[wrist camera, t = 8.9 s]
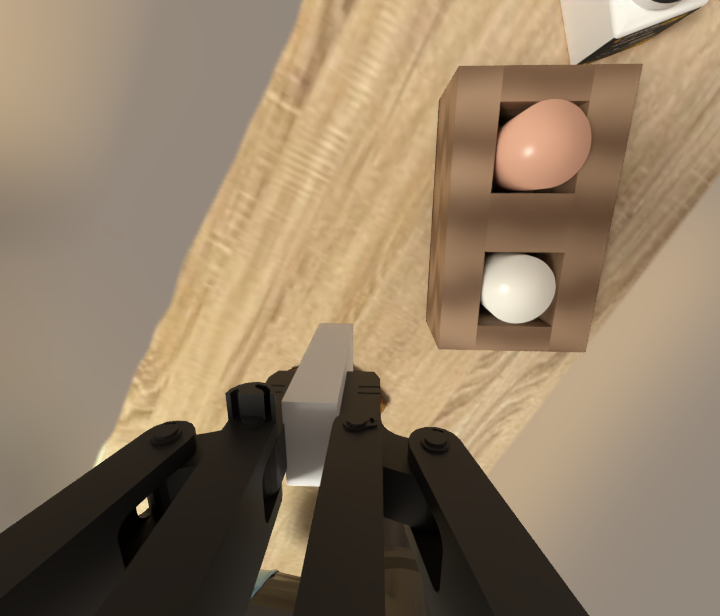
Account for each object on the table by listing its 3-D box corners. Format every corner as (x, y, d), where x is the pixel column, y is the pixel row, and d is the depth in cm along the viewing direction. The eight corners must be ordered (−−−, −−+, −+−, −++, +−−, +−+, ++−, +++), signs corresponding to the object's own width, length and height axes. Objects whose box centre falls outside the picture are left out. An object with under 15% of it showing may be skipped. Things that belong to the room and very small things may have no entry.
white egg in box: (516, 301, 41) (549, 324, 33) (461, 301, 41) (480, 322, 33) (524, 246, 39) (560, 256, 31) (466, 245, 39) (488, 255, 31)
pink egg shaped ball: (538, 192, 36) (583, 188, 28) (475, 192, 36) (502, 188, 28) (548, 123, 34) (598, 98, 26) (481, 123, 34) (512, 99, 26)
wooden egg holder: (542, 322, 42) (585, 352, 34) (425, 320, 43) (438, 349, 34) (577, 98, 35) (642, 63, 27) (439, 99, 36) (458, 66, 27)
